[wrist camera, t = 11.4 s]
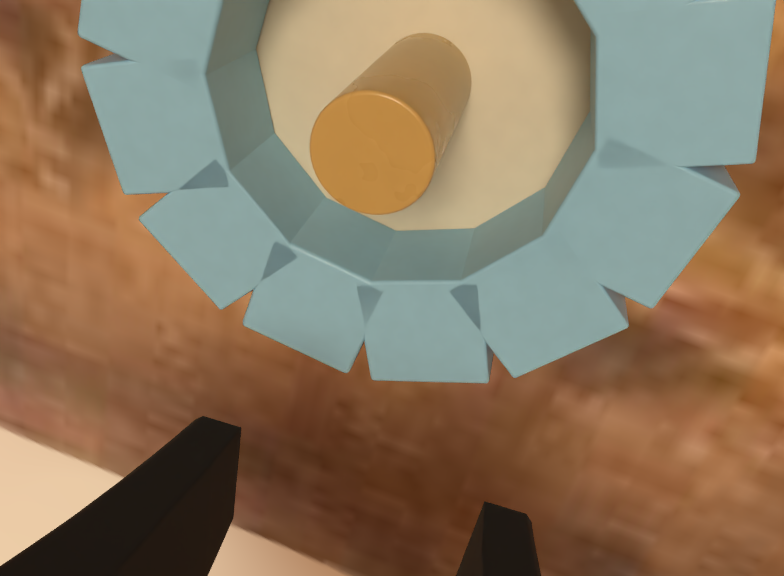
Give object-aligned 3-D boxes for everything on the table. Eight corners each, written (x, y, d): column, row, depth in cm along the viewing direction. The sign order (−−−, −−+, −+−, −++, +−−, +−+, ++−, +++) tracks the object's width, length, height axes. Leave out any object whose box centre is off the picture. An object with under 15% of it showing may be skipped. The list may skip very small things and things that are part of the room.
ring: (893, -102, 11) (972, -100, 9) (537, 393, 18) (533, 463, 16) (225, -432, 11) (142, -511, 9) (113, 193, 18) (49, 236, 15)
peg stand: (737, -47, 13) (845, -7, 8) (519, 300, 18) (501, 462, 13) (315, -253, 13) (156, -343, 8) (209, 155, 18) (68, 260, 13)
